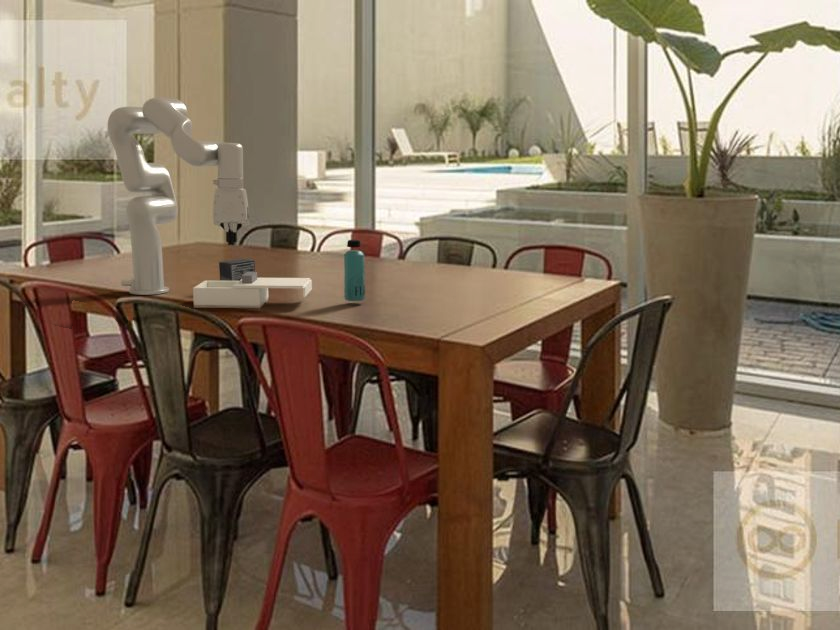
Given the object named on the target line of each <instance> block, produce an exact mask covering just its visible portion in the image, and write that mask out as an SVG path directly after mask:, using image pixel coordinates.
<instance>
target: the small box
mask: <svg viewBox="0 0 840 630" xmlns="http://www.w3.org/2000/svg"><path fill="white" fill-rule="evenodd" d="M218 264H219V265H218V267H219V281H240V280H241V279H242V275H243V274H245V273H246V272H256V265H255V264H256V263H255V259H250V258H249V259H248V258H240V259H232V260H231V259H230V260H224V261H219V262H218Z"/></svg>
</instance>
